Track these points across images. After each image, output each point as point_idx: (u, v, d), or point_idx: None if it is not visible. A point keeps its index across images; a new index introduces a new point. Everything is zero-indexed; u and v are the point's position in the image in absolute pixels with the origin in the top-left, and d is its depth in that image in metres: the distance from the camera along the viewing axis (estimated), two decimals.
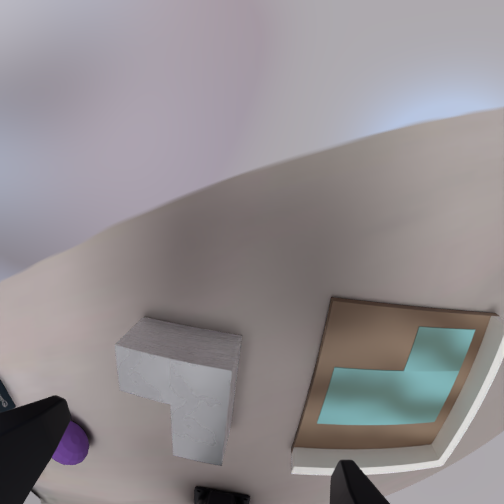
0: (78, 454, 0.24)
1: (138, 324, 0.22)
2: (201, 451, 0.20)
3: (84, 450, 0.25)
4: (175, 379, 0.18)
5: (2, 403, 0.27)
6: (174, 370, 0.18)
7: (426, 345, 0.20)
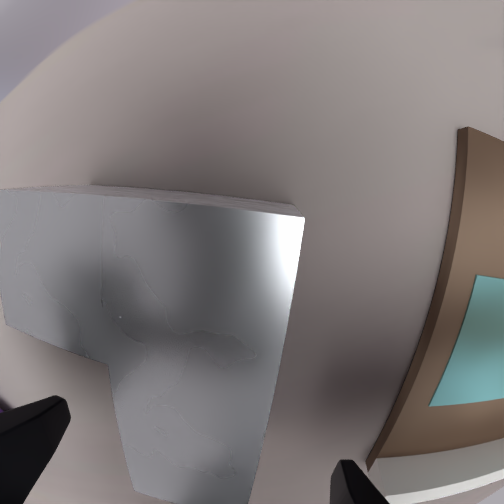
0: None
1: (71, 185, 0.09)
2: (196, 489, 0.07)
3: None
4: (116, 273, 0.06)
5: None
6: (114, 238, 0.06)
7: None
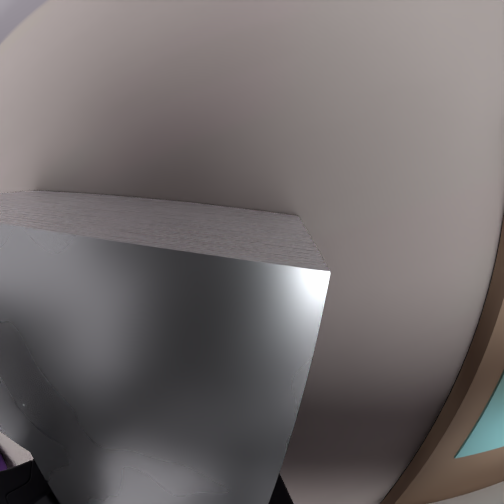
0: None
1: (4, 193, 0.06)
2: None
3: None
4: (3, 344, 0.03)
5: None
6: None
7: None
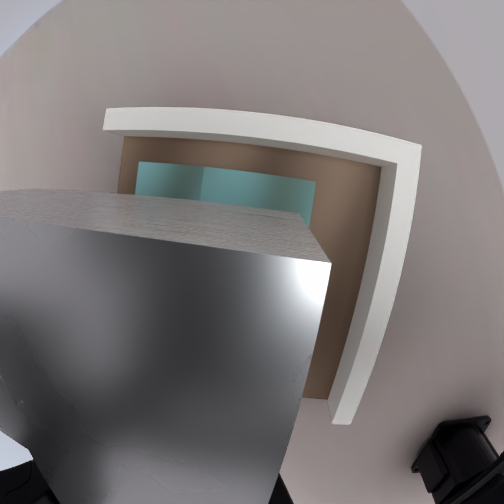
0: None
1: (4, 191, 0.06)
2: None
3: None
4: (1, 340, 0.03)
5: None
6: None
7: None
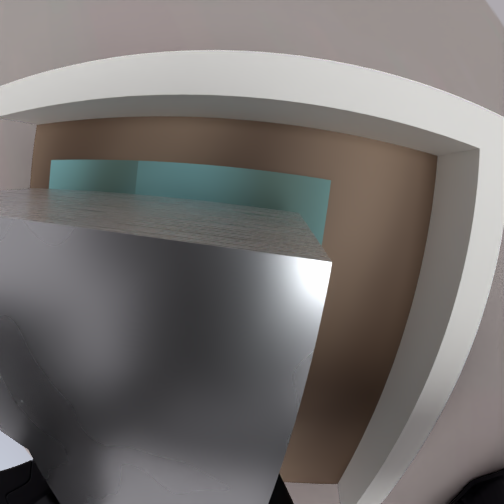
0: None
1: (4, 190, 0.06)
2: None
3: None
4: (1, 340, 0.03)
5: None
6: None
7: None
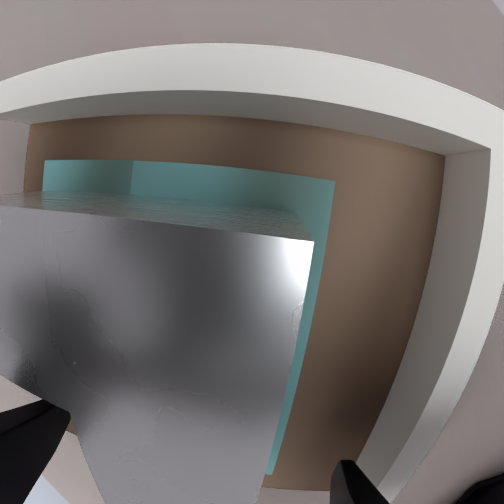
0: None
1: (37, 192, 0.08)
2: None
3: None
4: (64, 310, 0.04)
5: None
6: (57, 266, 0.04)
7: None
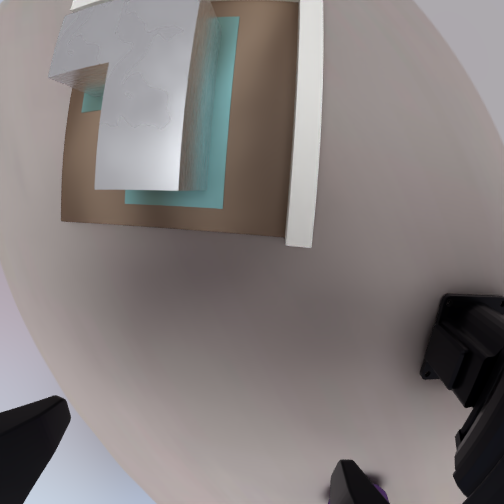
0: None
1: None
2: (142, 154, 0.11)
3: None
4: (125, 19, 0.10)
5: None
6: (127, 8, 0.10)
7: None
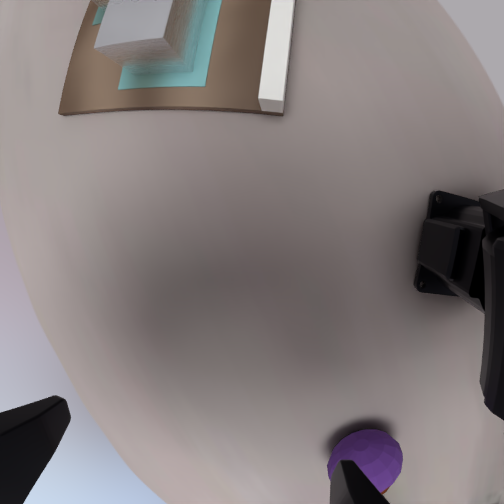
0: (384, 452, 0.16)
1: None
2: (138, 17, 0.11)
3: (385, 440, 0.17)
4: None
5: None
6: None
7: None
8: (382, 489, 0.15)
